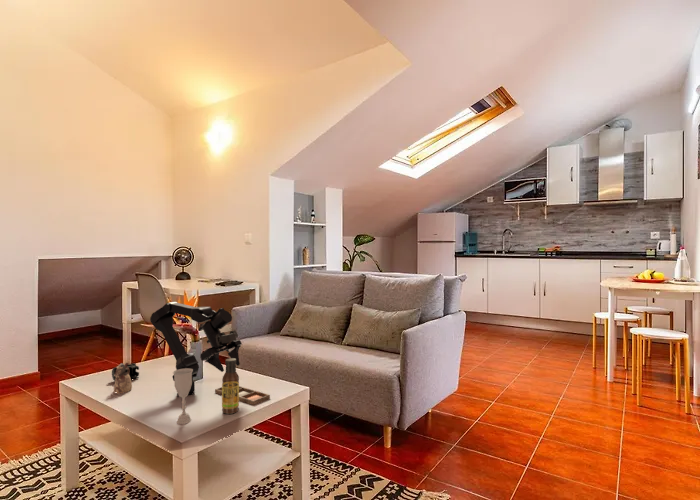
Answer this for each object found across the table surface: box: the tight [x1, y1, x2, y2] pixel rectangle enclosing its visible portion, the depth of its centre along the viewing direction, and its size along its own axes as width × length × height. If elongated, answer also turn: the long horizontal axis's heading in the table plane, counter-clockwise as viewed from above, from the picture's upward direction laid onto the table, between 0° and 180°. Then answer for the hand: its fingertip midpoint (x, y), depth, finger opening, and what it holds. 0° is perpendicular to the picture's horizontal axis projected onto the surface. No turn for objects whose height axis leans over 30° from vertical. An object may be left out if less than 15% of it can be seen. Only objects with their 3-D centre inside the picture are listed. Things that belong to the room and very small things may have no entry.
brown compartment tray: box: [214, 385, 271, 406], centre depth 178 cm, size 25×9×2 cm, turn 53°
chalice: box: [172, 368, 193, 425], centre depth 153 cm, size 7×7×18 cm
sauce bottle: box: [221, 357, 240, 415], centre depth 161 cm, size 6×6×20 cm
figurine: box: [113, 362, 133, 394], centre depth 187 cm, size 7×7×12 cm
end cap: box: [111, 362, 140, 382], centre depth 202 cm, size 10×7×7 cm
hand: (231, 368), depth 171 cm, fingers open, 9 cm apart
